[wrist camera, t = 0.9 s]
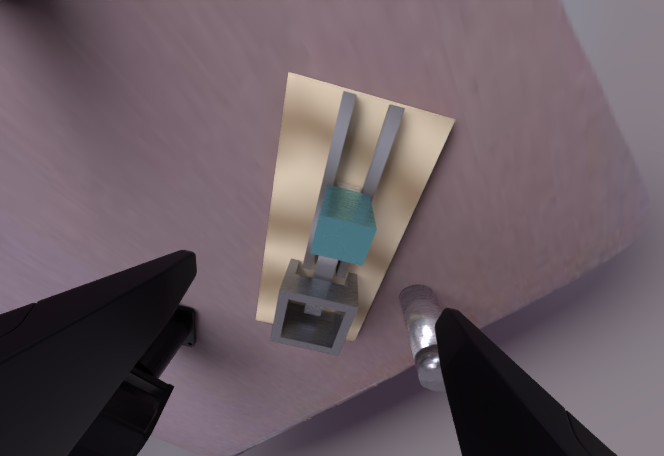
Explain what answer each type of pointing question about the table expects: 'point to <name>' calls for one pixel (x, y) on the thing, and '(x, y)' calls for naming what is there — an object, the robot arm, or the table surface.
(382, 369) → the table surface
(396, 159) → the board
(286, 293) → the socket
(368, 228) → the teal piece
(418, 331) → the grey white banded cylinder
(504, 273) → the table surface
